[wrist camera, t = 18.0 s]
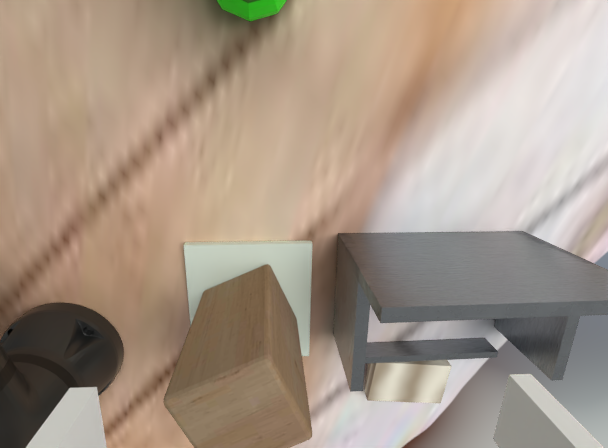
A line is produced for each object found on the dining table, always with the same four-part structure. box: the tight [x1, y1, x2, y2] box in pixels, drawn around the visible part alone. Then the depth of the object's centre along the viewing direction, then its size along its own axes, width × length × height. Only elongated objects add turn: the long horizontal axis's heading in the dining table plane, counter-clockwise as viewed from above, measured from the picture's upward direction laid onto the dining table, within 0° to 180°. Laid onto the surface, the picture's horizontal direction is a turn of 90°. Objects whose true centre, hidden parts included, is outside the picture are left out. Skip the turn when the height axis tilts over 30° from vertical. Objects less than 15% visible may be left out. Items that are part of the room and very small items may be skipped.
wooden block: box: [164, 264, 312, 448], centre depth 40 cm, size 10×10×20 cm
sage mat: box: [184, 241, 312, 356], centre depth 50 cm, size 17×18×1 cm
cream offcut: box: [365, 360, 451, 403], centre depth 55 cm, size 12×7×2 cm, turn 82°
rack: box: [333, 231, 608, 391], centre depth 44 cm, size 28×19×20 cm
